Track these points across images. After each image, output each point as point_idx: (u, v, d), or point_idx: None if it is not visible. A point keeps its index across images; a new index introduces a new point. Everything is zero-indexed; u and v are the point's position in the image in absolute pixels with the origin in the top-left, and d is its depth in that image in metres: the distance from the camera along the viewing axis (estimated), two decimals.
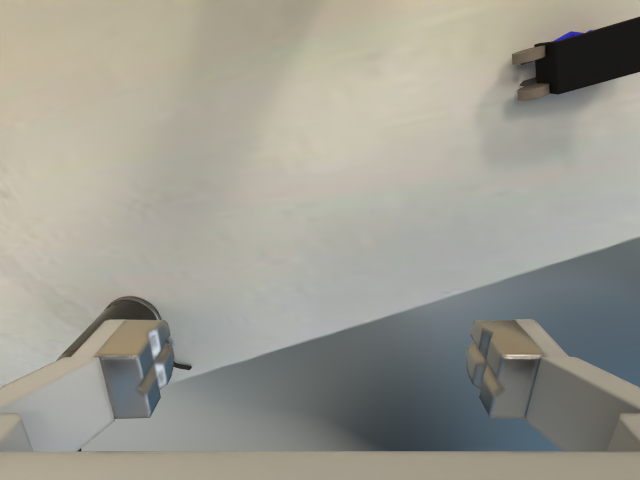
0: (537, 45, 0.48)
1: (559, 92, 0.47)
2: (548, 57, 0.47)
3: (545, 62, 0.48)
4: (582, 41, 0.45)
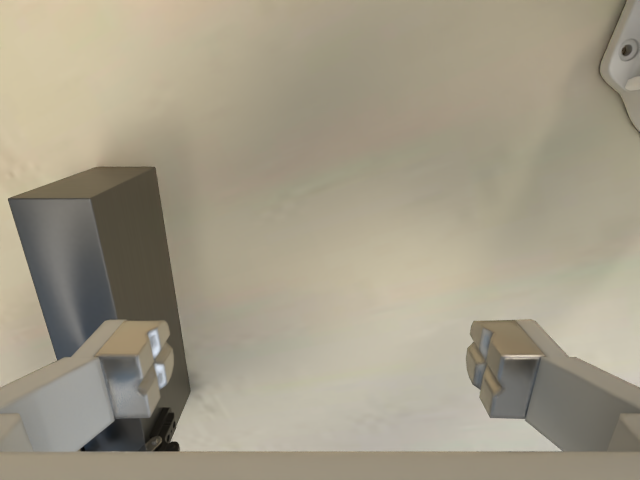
0: None
1: None
2: None
3: None
4: None
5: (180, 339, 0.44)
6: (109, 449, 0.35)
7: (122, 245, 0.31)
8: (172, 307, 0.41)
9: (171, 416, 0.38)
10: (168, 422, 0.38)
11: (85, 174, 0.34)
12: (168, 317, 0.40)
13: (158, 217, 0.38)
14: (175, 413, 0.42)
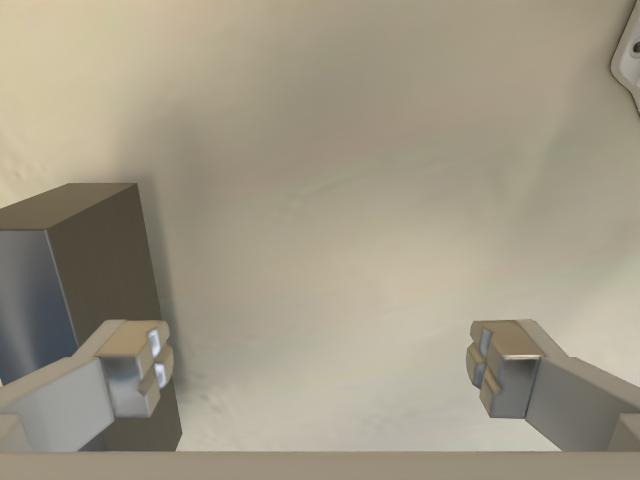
0: None
1: None
2: None
3: None
4: None
5: None
6: None
7: (93, 280, 0.26)
8: None
9: None
10: None
11: (52, 193, 0.29)
12: None
13: (141, 241, 0.32)
14: None
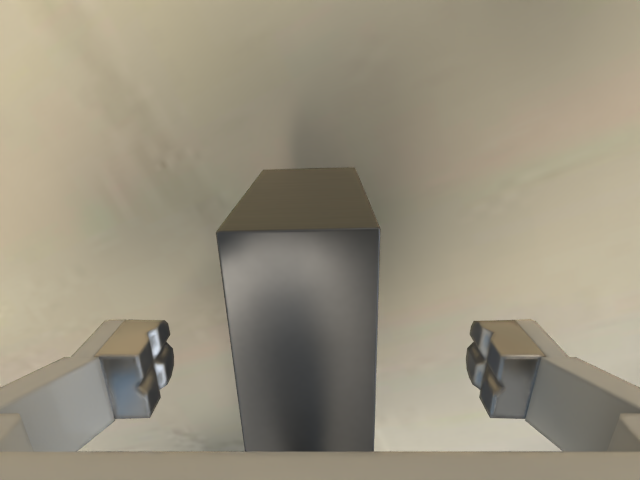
0: None
1: None
2: None
3: None
4: None
5: None
6: None
7: None
8: None
9: None
10: None
11: (271, 181, 0.21)
12: None
13: None
14: None
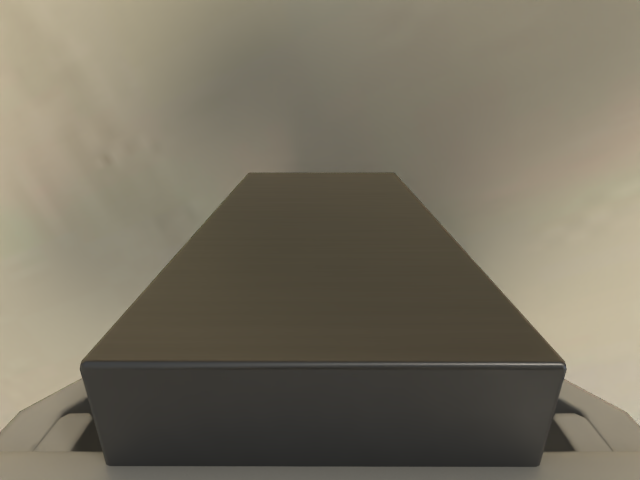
0: None
1: None
2: None
3: None
4: None
5: None
6: None
7: None
8: None
9: None
10: None
11: (259, 194, 0.12)
12: None
13: None
14: None
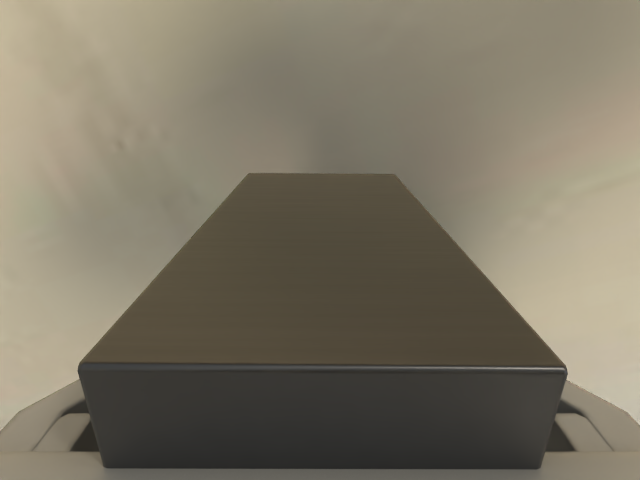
0: None
1: None
2: None
3: None
4: None
5: None
6: None
7: None
8: None
9: None
10: None
11: (259, 195, 0.12)
12: None
13: None
14: None
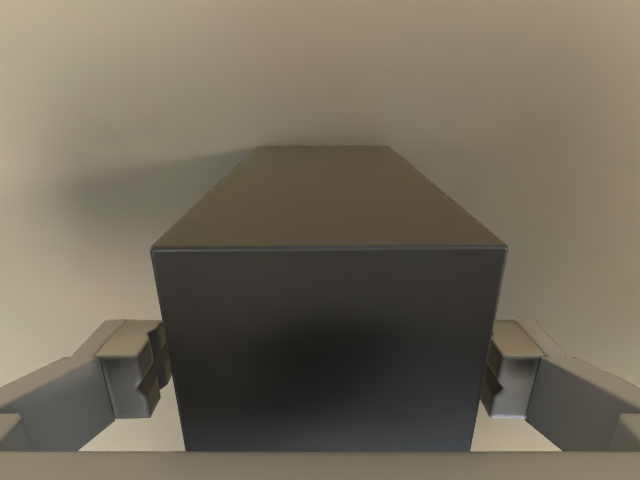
0: None
1: None
2: None
3: None
4: None
5: None
6: None
7: None
8: None
9: None
10: None
11: (269, 160, 0.13)
12: None
13: None
14: None
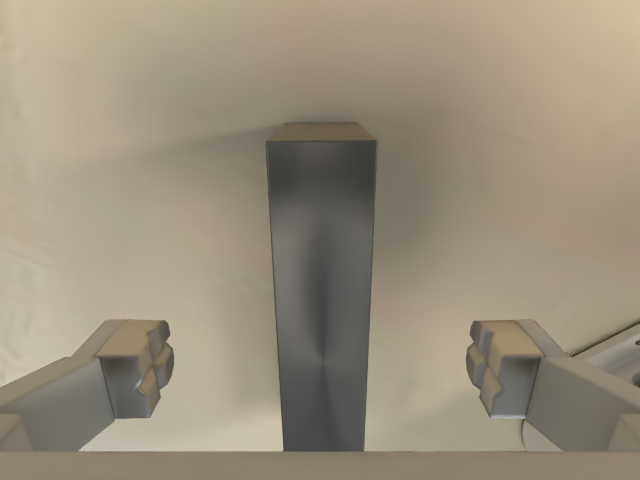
0: None
1: None
2: None
3: None
4: None
5: None
6: None
7: None
8: None
9: None
10: None
11: (293, 127, 0.27)
12: None
13: None
14: None
